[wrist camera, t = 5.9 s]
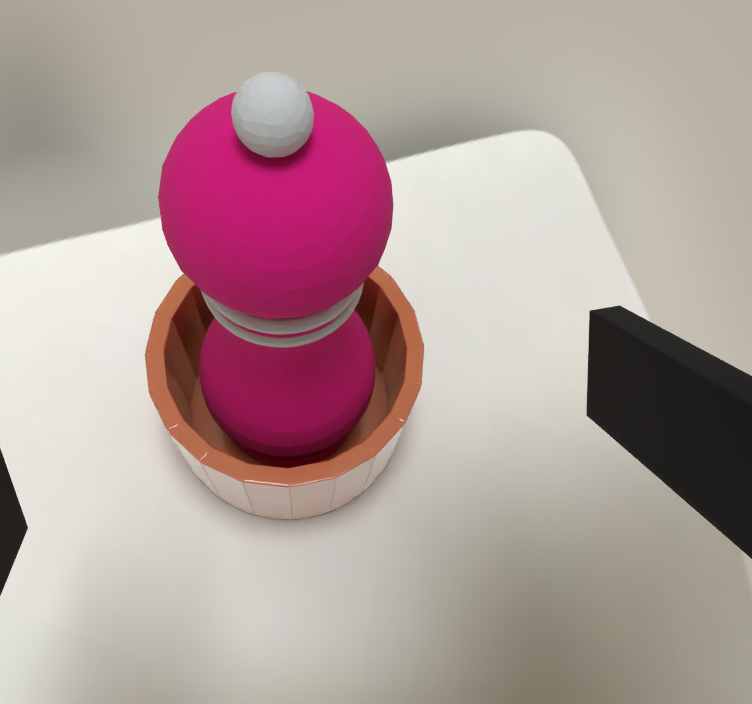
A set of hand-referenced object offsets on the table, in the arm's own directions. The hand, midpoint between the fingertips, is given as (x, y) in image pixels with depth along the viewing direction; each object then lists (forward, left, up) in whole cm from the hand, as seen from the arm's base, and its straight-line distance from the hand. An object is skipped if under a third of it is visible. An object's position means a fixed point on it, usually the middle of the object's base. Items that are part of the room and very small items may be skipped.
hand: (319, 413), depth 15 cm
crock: (+6, -2, -17) cm, 18 cm away
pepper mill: (+6, -2, -17) cm, 18 cm away
